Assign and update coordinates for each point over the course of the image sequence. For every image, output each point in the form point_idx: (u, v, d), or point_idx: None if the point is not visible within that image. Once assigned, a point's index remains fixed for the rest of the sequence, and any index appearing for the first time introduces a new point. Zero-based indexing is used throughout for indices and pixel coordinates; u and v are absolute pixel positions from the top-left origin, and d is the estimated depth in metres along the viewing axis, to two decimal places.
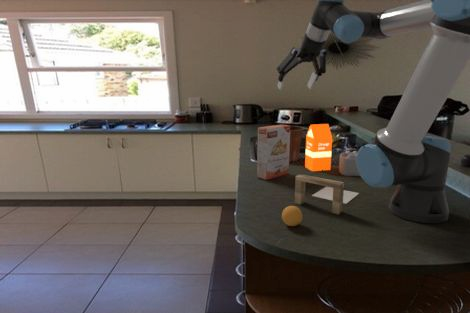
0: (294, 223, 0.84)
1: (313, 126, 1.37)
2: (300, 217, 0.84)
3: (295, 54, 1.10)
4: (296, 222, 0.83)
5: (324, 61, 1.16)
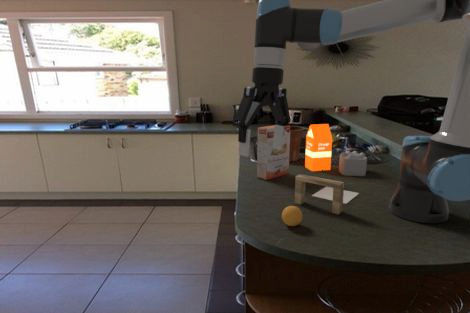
0: (294, 223, 0.84)
1: (313, 126, 1.37)
2: (300, 217, 0.84)
3: (253, 93, 0.73)
4: (296, 222, 0.83)
5: (286, 103, 0.83)
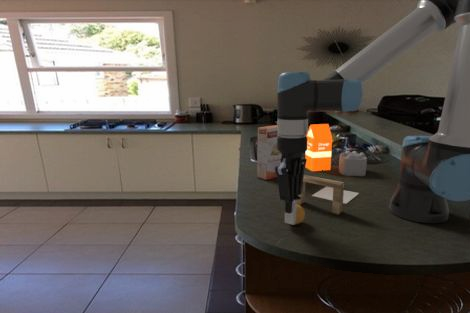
0: (296, 219, 0.85)
1: (313, 126, 1.37)
2: (303, 214, 0.85)
3: (285, 172, 0.76)
4: (298, 218, 0.84)
5: (303, 173, 0.84)
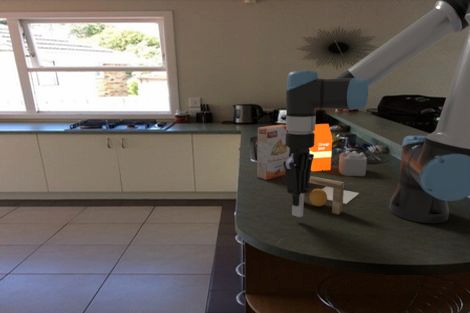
0: (321, 205, 0.98)
1: None
2: (325, 199, 0.97)
3: (293, 166, 0.80)
4: (322, 204, 0.97)
5: (310, 168, 0.88)
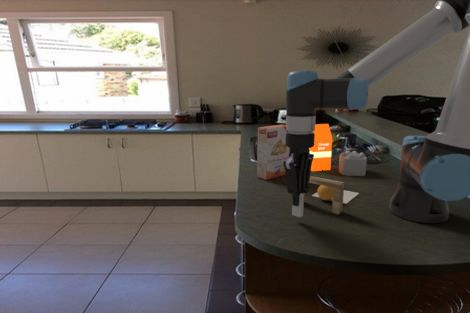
0: (330, 187, 1.02)
1: None
2: None
3: (293, 166, 0.80)
4: (332, 188, 1.02)
5: (310, 168, 0.88)
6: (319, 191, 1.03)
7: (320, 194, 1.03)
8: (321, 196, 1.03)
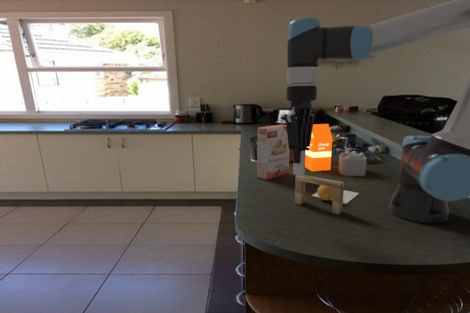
0: (330, 187, 1.02)
1: (313, 126, 1.37)
2: None
3: (294, 119, 0.77)
4: (332, 188, 1.02)
5: (312, 125, 0.85)
6: (319, 191, 1.03)
7: (320, 194, 1.03)
8: (321, 196, 1.03)
